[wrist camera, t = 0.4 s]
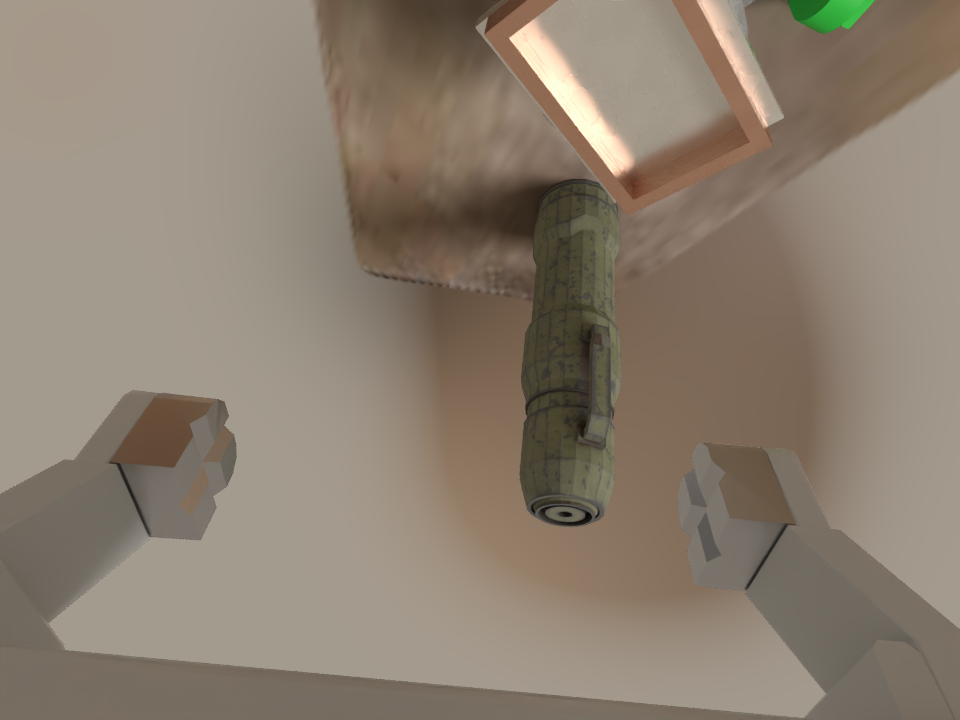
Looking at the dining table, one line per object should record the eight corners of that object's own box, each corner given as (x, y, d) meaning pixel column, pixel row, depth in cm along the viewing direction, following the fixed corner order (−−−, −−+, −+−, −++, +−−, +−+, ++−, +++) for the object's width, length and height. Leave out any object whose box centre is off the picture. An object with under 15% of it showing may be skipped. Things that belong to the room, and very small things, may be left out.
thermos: (523, 239, 72) (491, 529, 52) (556, 158, 63) (532, 475, 43) (595, 257, 73) (590, 548, 53) (638, 180, 64) (652, 500, 44)
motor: (680, -251, 38) (709, -145, 27) (776, -25, 47) (825, 119, 36) (481, -67, 47) (445, 65, 36) (594, 91, 56) (591, 233, 46)
